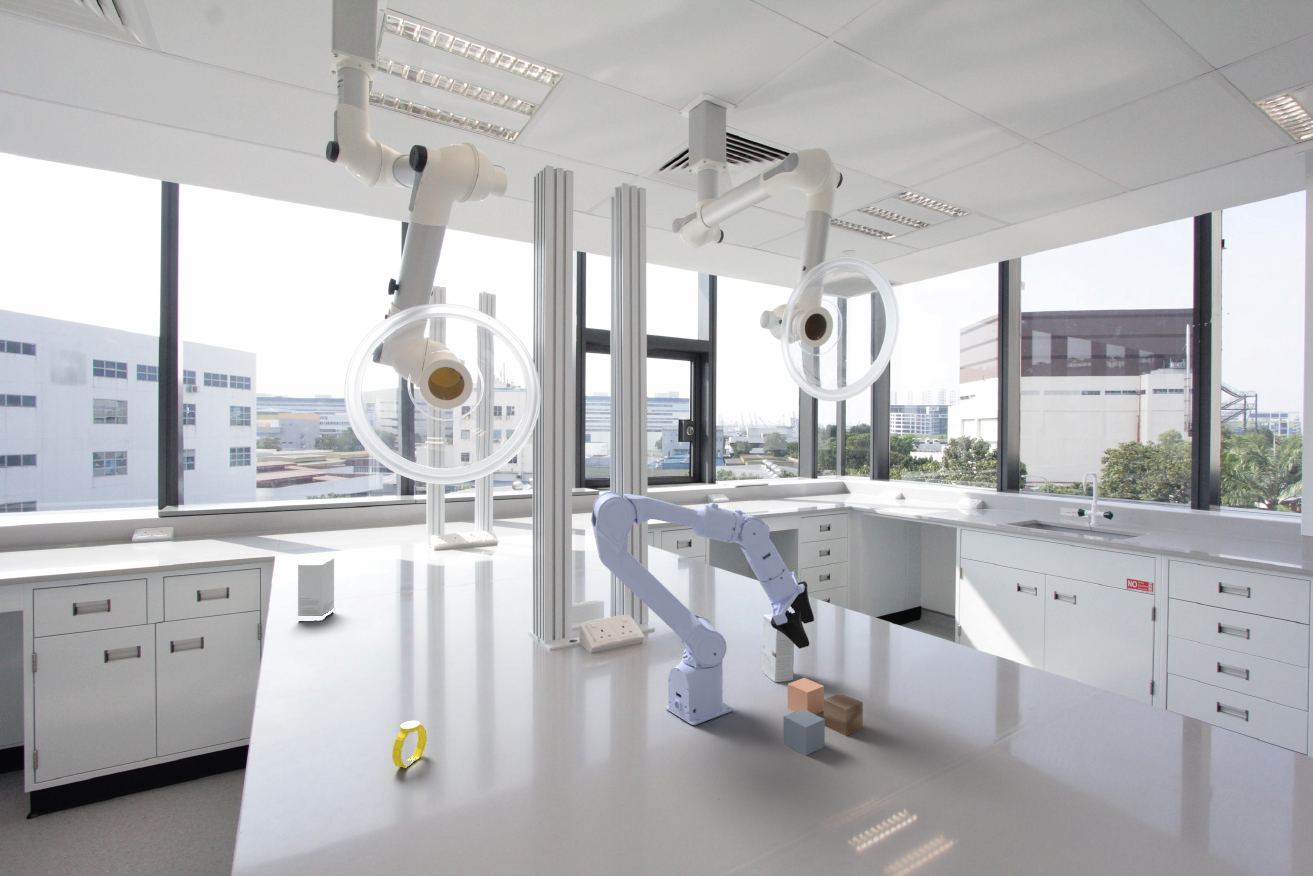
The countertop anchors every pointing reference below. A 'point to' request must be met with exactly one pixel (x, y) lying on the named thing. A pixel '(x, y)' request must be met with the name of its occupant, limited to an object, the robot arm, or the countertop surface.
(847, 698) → the walnut block
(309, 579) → the skincare box
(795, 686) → the terracotta block
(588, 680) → the countertop surface
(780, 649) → the skincare box
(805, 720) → the slate block
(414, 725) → the watch
